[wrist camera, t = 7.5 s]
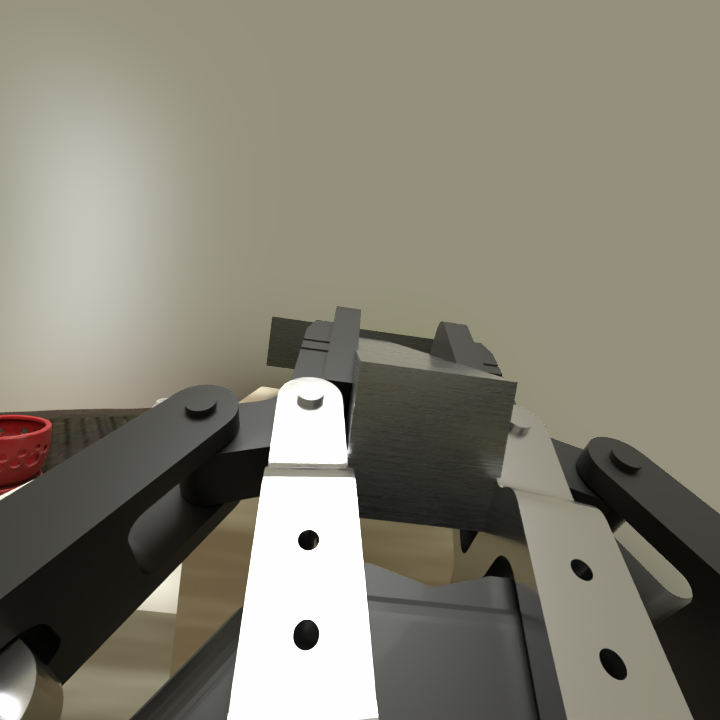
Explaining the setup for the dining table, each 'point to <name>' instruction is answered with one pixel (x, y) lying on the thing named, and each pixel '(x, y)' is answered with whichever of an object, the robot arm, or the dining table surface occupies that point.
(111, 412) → the dining table surface
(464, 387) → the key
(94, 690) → the step stand
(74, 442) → the dining table surface
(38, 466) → the plant pot
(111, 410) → the dining table surface
